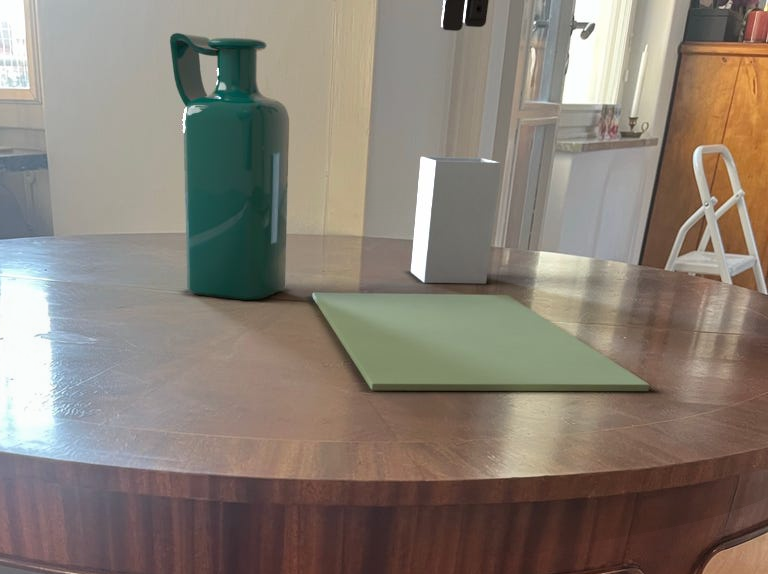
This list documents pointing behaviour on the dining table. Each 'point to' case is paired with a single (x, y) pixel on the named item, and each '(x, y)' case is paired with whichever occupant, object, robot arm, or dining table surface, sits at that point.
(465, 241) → the bin
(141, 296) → the dining table surface
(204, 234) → the pitcher
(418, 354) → the mat
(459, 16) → the robot arm
